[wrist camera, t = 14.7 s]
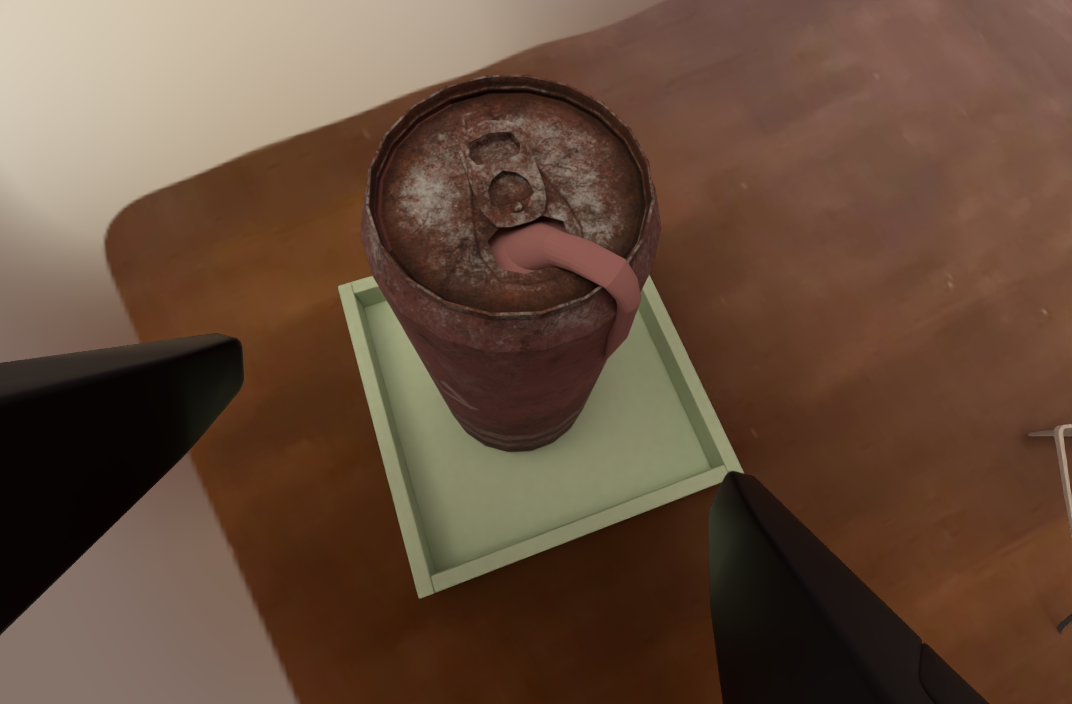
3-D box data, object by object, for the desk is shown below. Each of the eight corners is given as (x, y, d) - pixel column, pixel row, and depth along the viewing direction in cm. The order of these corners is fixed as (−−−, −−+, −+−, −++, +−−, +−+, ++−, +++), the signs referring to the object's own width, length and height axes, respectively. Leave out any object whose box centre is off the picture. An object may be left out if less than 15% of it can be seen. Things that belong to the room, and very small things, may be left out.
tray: (428, 593, 21) (418, 599, 19) (352, 305, 25) (337, 285, 23) (725, 478, 22) (744, 473, 20) (608, 228, 26) (615, 203, 24)
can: (540, 486, 21) (571, 411, 8) (419, 401, 22) (274, 213, 9) (616, 371, 23) (743, 155, 10) (500, 297, 24) (476, 14, 11)
